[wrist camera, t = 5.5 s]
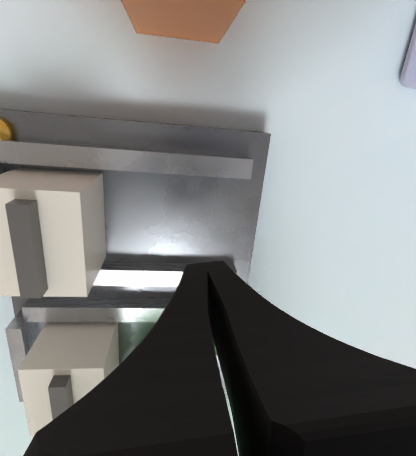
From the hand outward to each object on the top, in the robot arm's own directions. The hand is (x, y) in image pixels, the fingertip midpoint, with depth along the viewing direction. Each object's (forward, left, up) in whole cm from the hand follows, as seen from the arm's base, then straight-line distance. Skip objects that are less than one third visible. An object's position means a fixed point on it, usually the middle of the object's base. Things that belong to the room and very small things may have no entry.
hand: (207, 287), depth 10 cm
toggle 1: (+7, 0, -7) cm, 10 cm away
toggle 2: (+6, +9, -7) cm, 13 cm away
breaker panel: (+3, +4, -8) cm, 10 cm away
